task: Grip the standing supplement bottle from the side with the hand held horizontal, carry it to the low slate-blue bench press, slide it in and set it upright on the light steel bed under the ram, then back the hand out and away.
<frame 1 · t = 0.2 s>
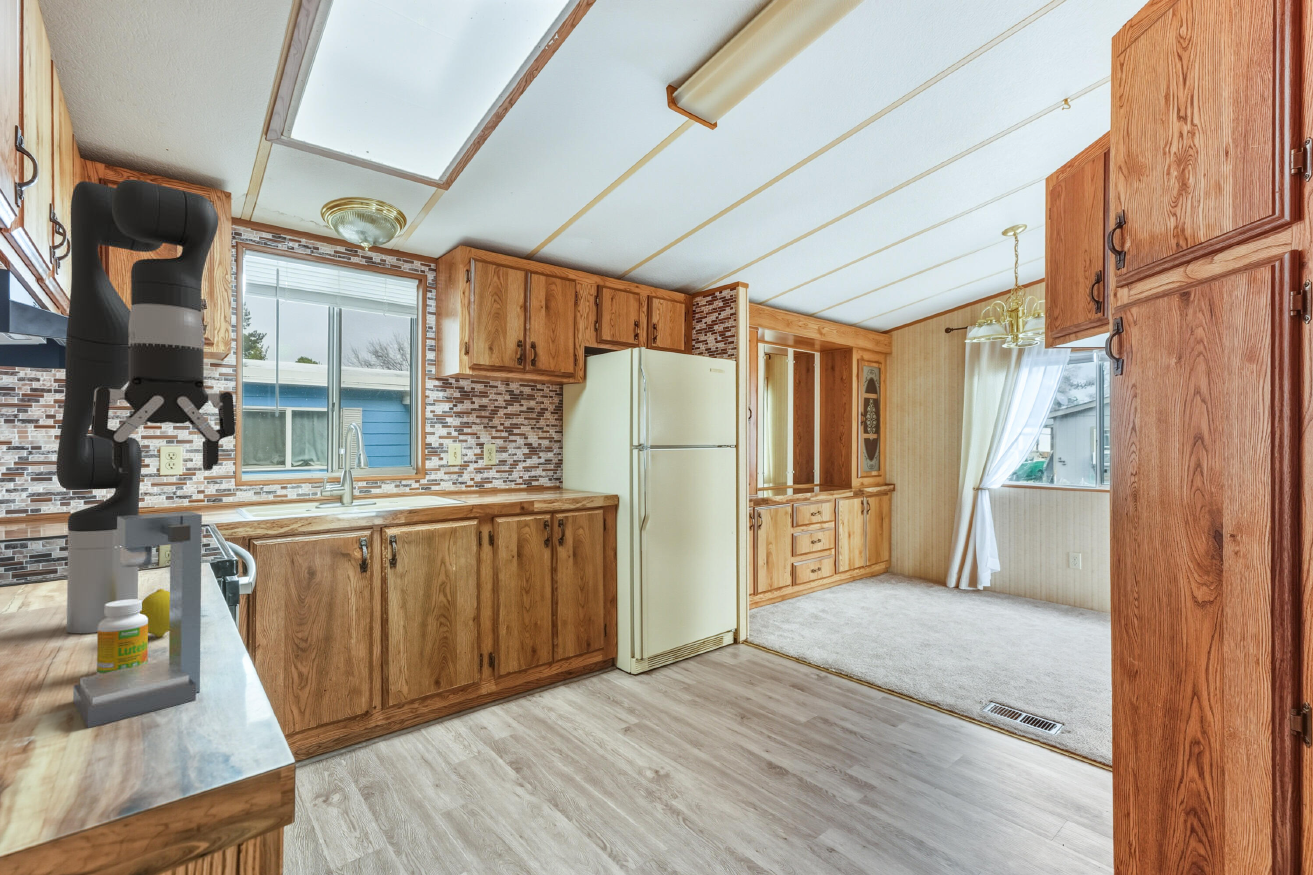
hand: (167, 470, 79), 29 cm above the worktop, tool pointing down, fingers open, 8 cm apart
arbor press: (134, 700, 76), on the worktop
lemon: (159, 638, 101), on the worktop
supplement bottle: (122, 672, 86), on the worktop
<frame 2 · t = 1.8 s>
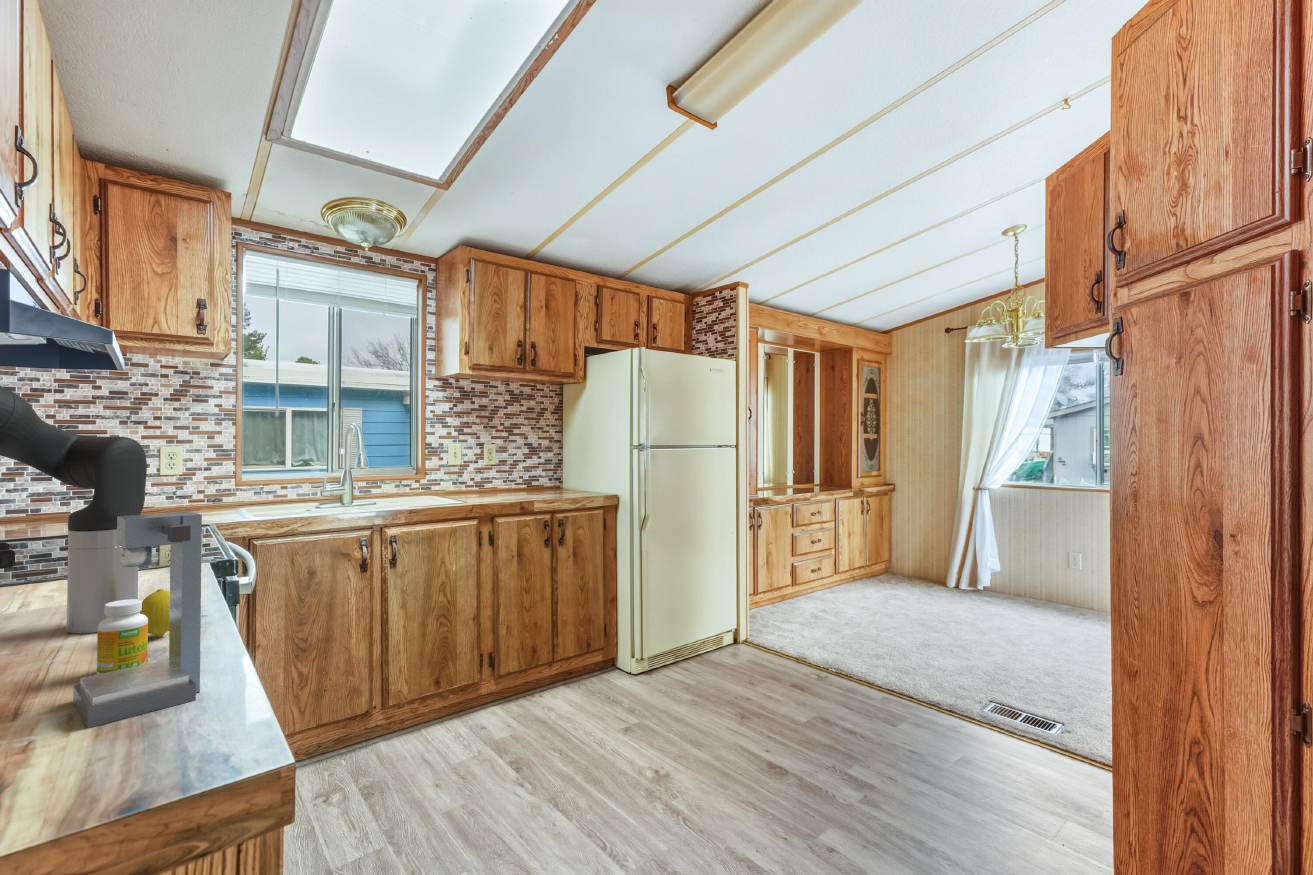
hand: (11, 554, 78), 18 cm above the worktop, tool horizontal, fingers open, 8 cm apart
nothing on the worktop moved.
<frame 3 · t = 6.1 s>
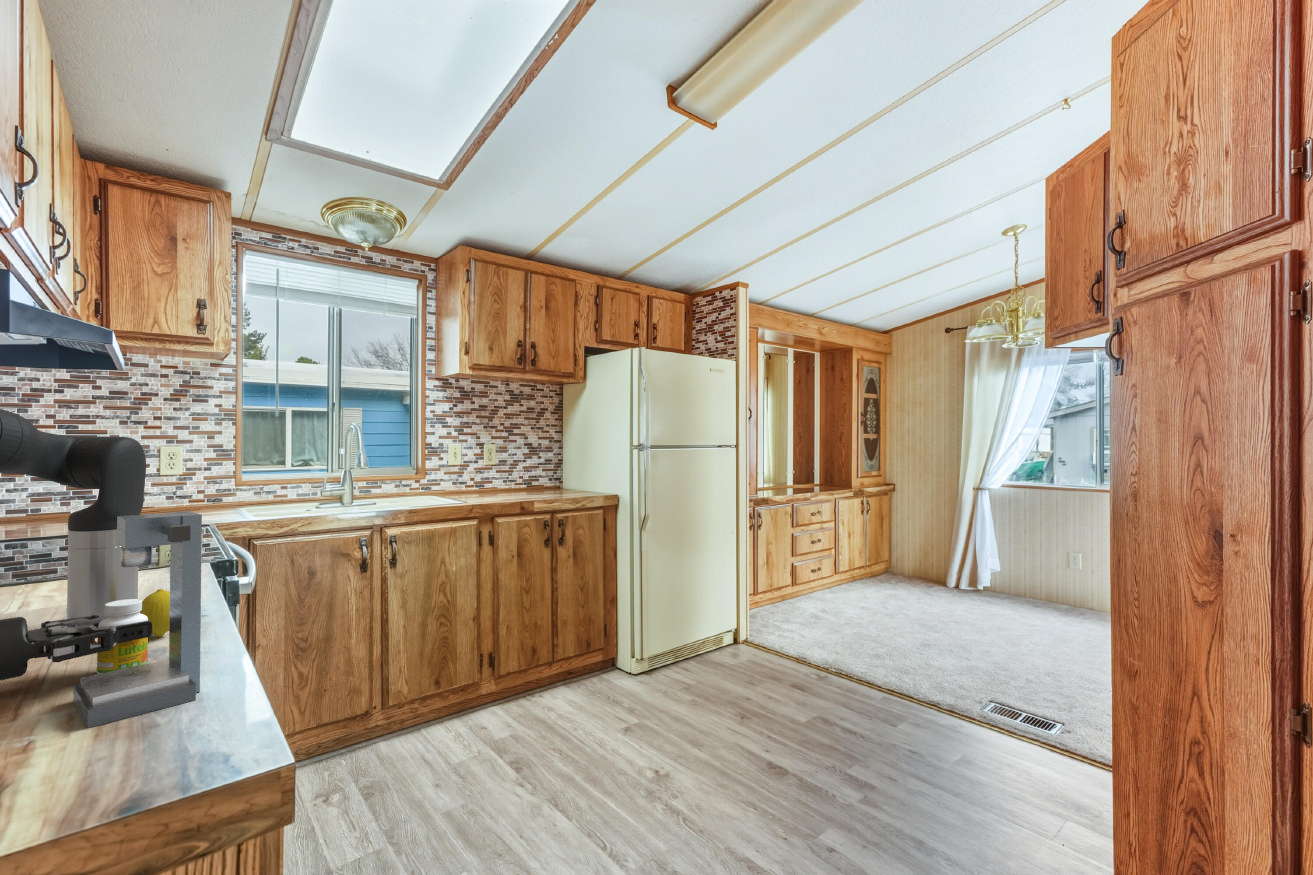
hand: (146, 624, 88), 6 cm above the worktop, tool horizontal, fingers closed on supplement bottle, 5 cm apart
supplement bottle: (122, 672, 86), on the worktop, touching gripper
everything else where it was.
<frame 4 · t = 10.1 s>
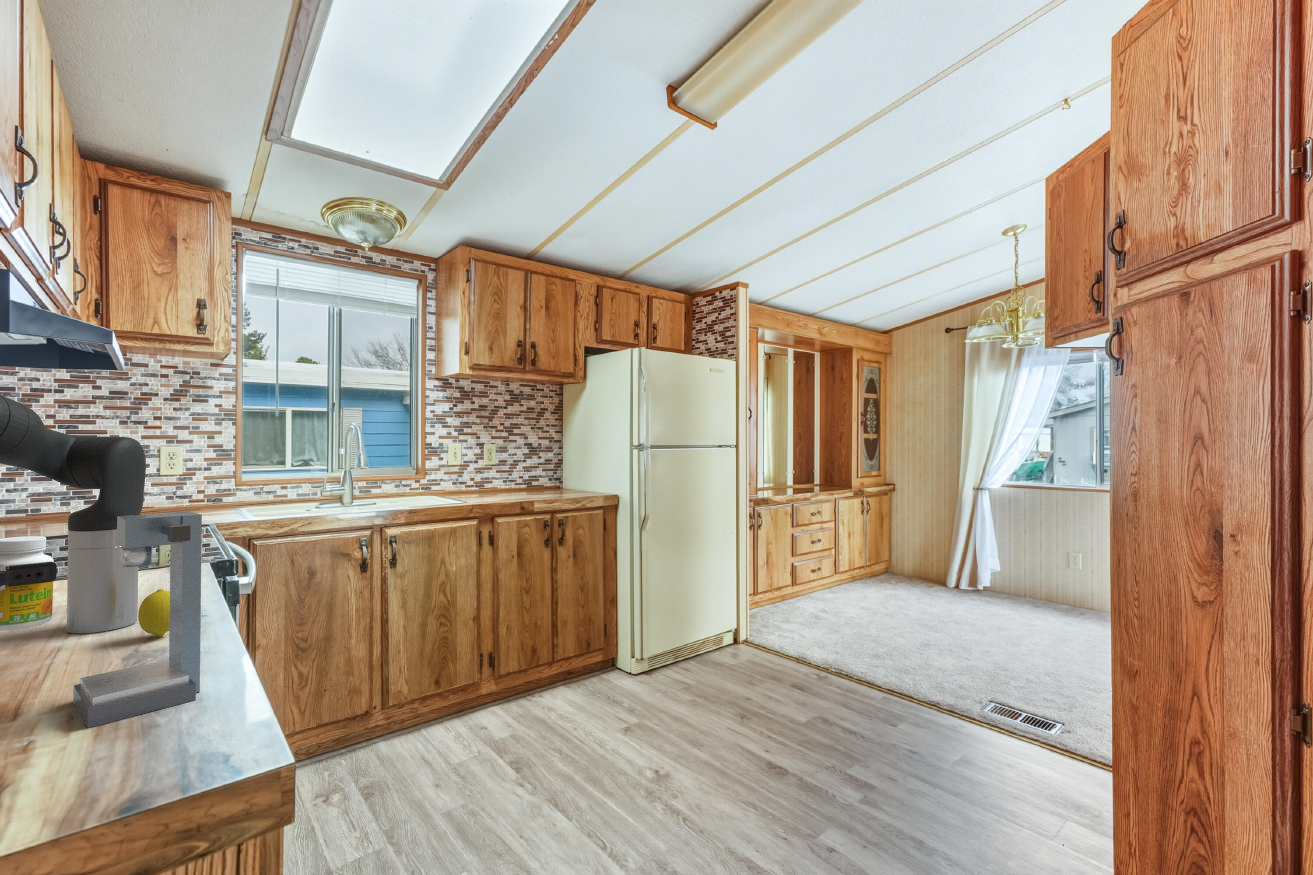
hand: (52, 567, 71), 18 cm above the worktop, tool horizontal, fingers closed on supplement bottle, 5 cm apart
supplement bottle: (18, 626, 69), point 12 cm above the worktop, touching gripper
everything else where it was.
when the fingers open (10 cm above the worktop, at t = 14.2 s): supplement bottle drops 1 cm, resting on arbor press.
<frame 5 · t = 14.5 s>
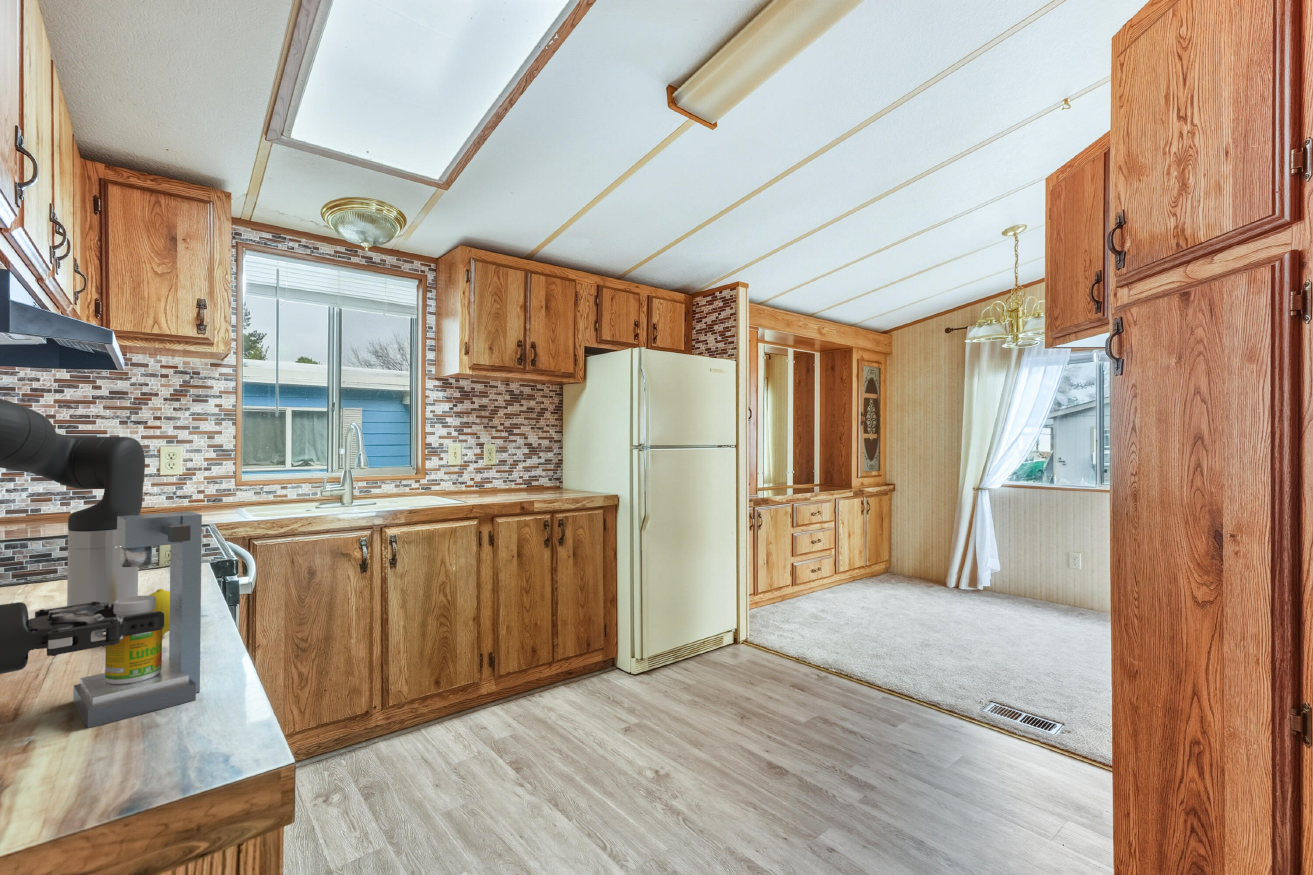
hand: (155, 613, 78), 10 cm above the worktop, tool horizontal, fingers open, 8 cm apart
supplement bottle: (133, 678, 76), point 3 cm above the worktop, touching arbor press
everything else where it was.
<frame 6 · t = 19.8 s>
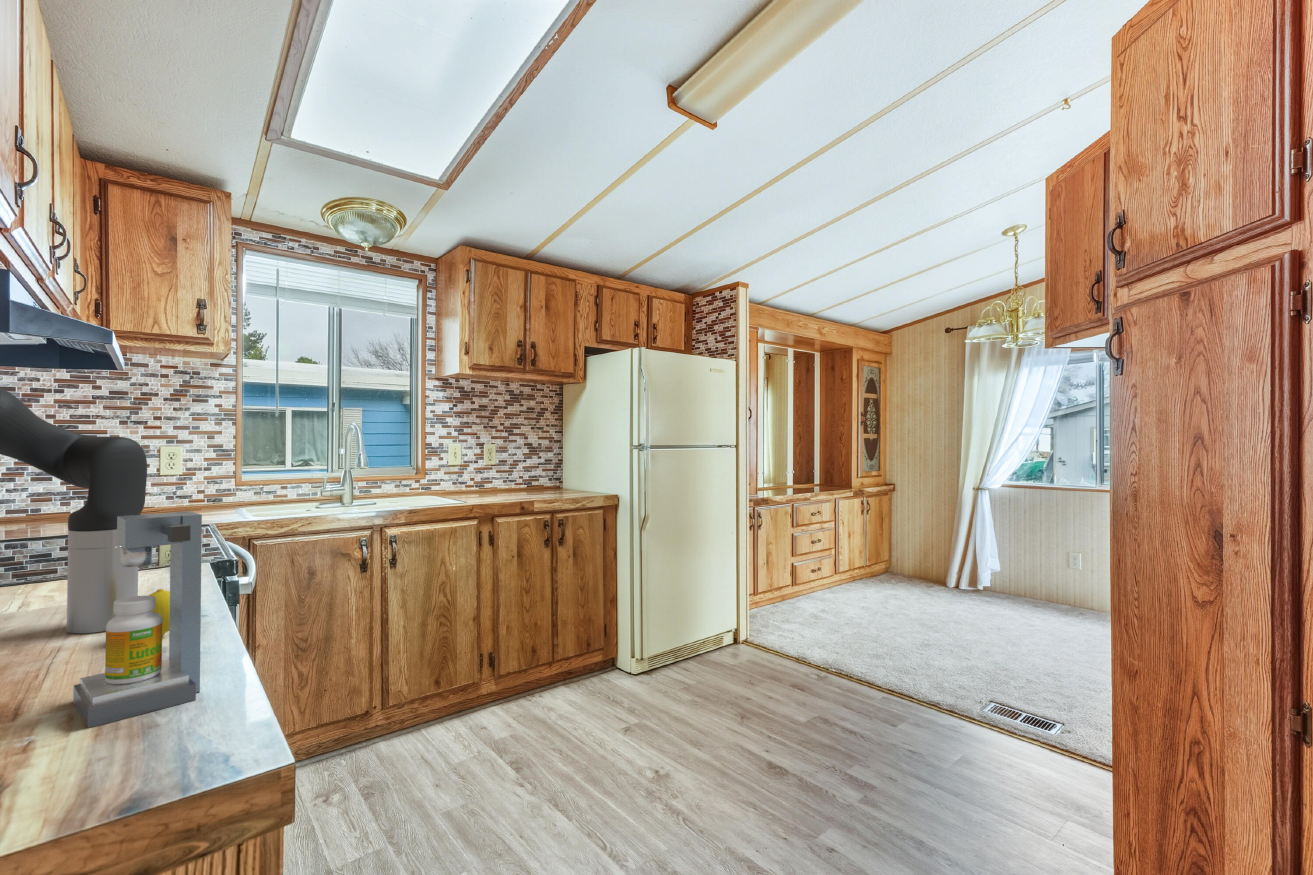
nothing on the worktop moved.
at the end: supplement bottle 0.1 cm off-centre on the arbor press, point 2.8 cm above the arbor press's base; supplement bottle tilted 0°; the gripper is holding nothing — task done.
